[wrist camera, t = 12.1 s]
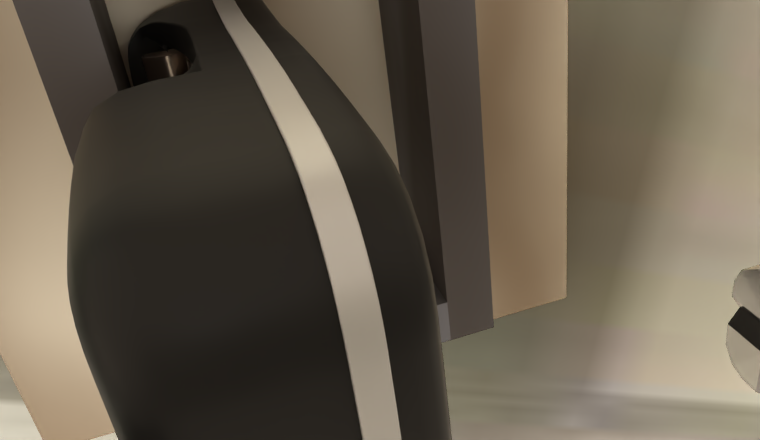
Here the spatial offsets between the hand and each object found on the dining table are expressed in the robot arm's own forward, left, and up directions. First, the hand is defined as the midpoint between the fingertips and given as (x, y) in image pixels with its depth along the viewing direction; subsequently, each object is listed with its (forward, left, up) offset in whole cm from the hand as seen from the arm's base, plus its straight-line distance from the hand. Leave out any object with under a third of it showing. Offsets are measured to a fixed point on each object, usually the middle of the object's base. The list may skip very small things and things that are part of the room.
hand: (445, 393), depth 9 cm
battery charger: (+2, 0, -11) cm, 11 cm away
